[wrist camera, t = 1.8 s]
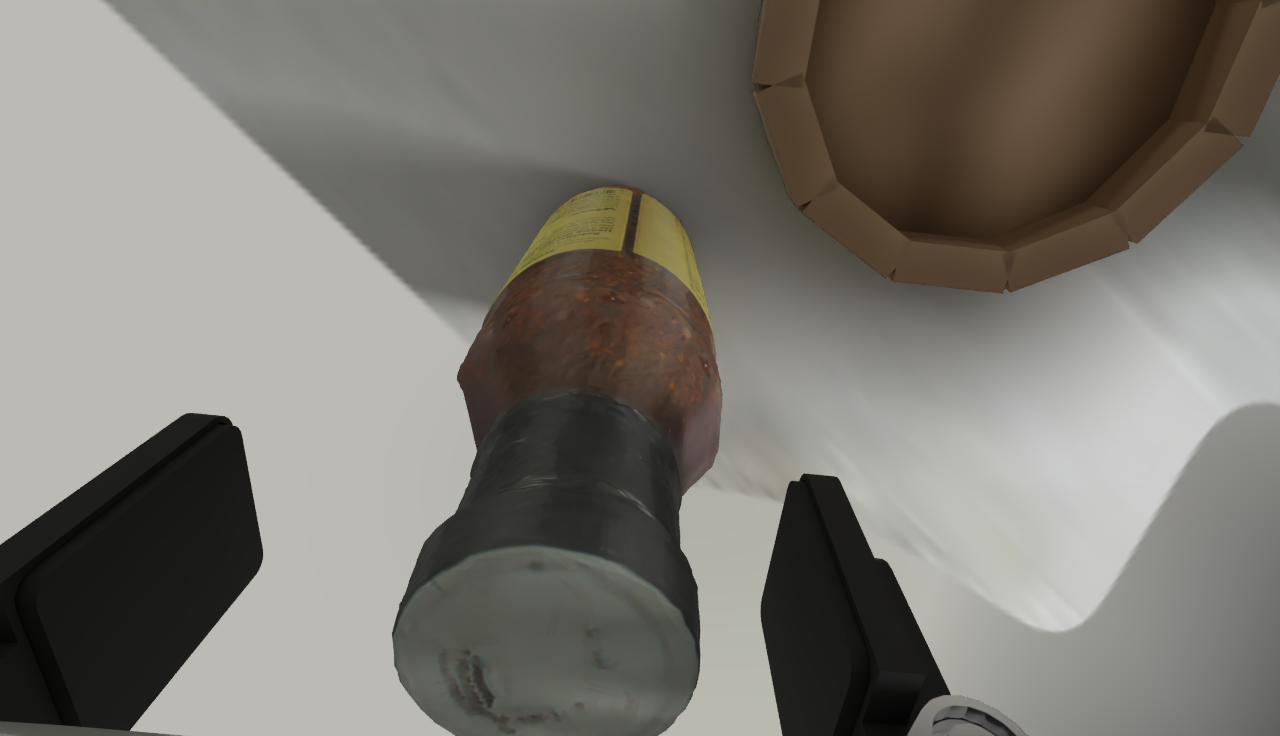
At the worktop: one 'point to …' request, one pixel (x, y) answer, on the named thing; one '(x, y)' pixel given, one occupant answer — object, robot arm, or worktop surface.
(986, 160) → the walnut bowl
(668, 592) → the sauce bottle
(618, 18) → the worktop surface
